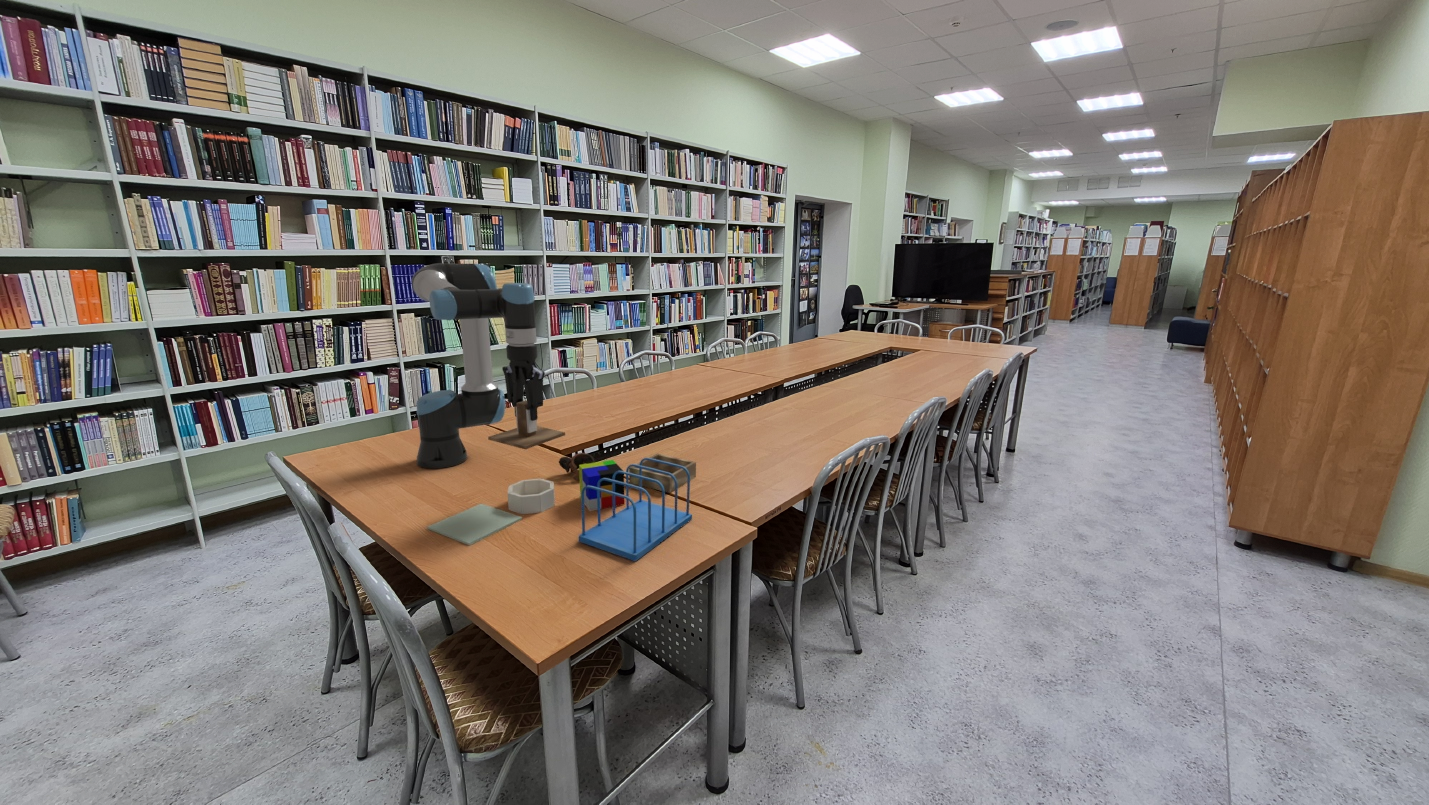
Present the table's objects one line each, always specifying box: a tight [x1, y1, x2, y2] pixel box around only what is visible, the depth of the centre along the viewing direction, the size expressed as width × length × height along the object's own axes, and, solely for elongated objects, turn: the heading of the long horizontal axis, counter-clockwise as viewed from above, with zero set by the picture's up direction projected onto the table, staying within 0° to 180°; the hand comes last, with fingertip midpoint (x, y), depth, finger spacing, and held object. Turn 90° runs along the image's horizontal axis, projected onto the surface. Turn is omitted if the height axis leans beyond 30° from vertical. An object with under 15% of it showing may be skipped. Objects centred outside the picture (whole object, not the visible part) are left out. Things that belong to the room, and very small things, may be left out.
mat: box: [426, 503, 523, 546], centre depth 139 cm, size 16×16×1 cm
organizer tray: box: [628, 453, 697, 494], centre depth 170 cm, size 15×15×5 cm
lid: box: [487, 400, 566, 450], centre depth 145 cm, size 14×14×10 cm
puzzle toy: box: [578, 459, 626, 512], centre depth 153 cm, size 10×10×10 cm
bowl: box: [507, 478, 556, 515], centre depth 151 cm, size 12×12×5 cm
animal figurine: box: [558, 452, 596, 481], centre depth 172 cm, size 12×10×8 cm
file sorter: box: [578, 457, 693, 562], centre depth 136 cm, size 25×17×15 cm
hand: (527, 430), depth 146 cm, fingers closed on lid, 3 cm apart
